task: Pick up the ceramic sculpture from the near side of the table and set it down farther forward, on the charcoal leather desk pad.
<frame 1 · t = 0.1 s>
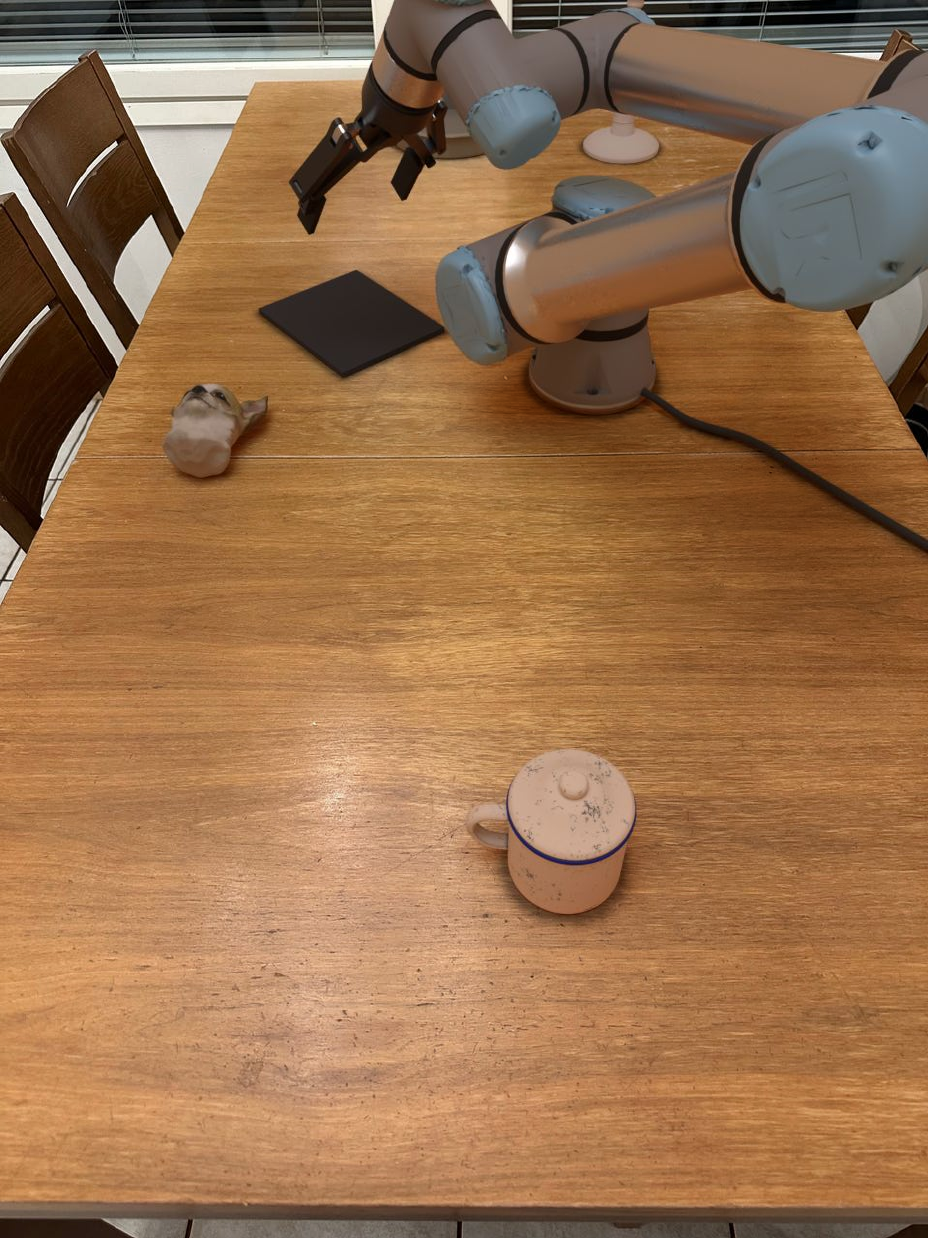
hand: (353, 207, 114), 15 cm above the table, tool tilted 35°, fingers open, 13 cm apart
cake pan: (450, 135, 167), on the table
desk pad: (350, 322, 125), on the table
candlestick: (620, 148, 161), on the table
ceramic sculpture: (215, 449, 108), on the table
teacup with lid: (544, 862, 73), on the table
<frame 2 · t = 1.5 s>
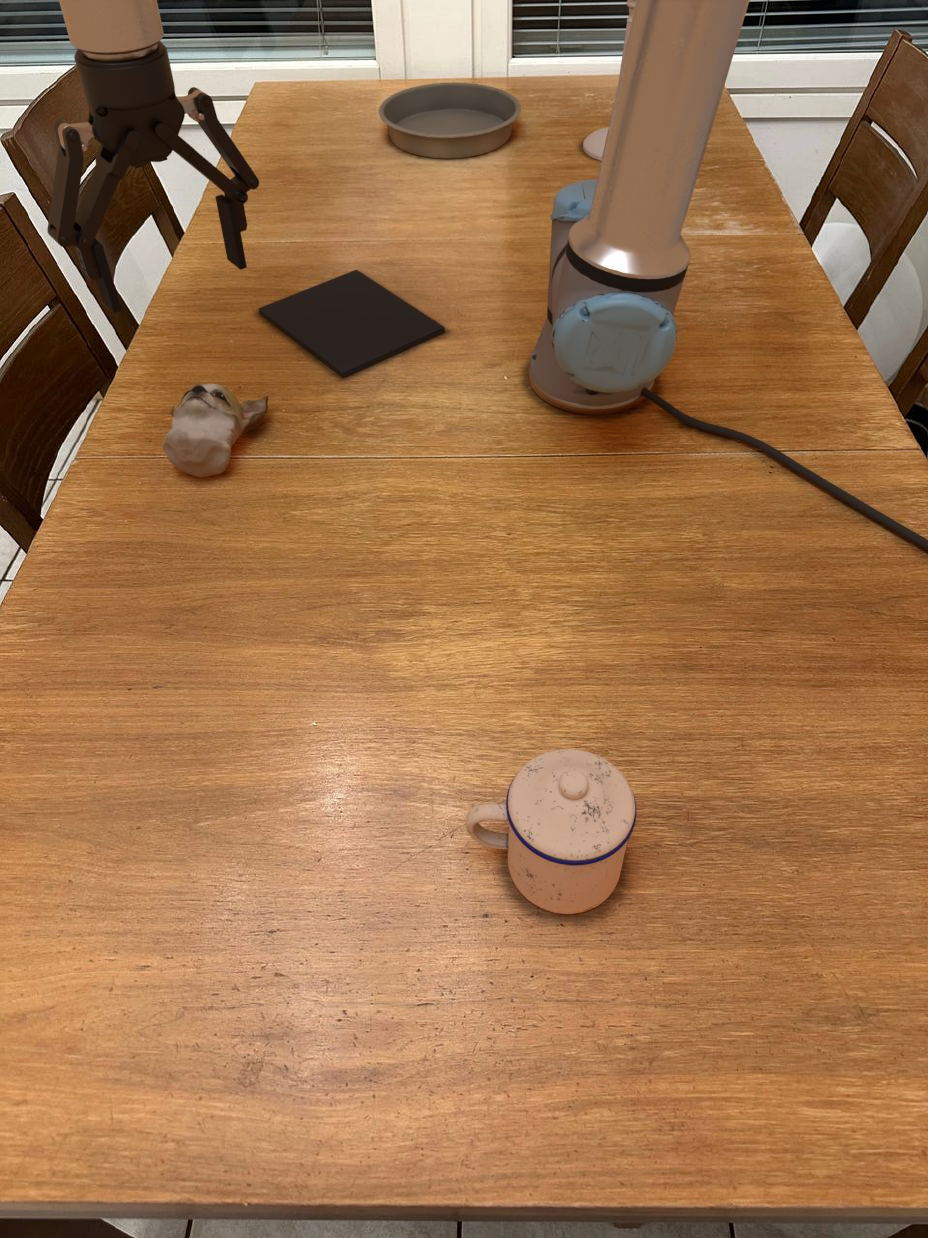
hand: (176, 284, 94), 19 cm above the table, tool pointing down, fingers open, 13 cm apart
nothing on the table moved.
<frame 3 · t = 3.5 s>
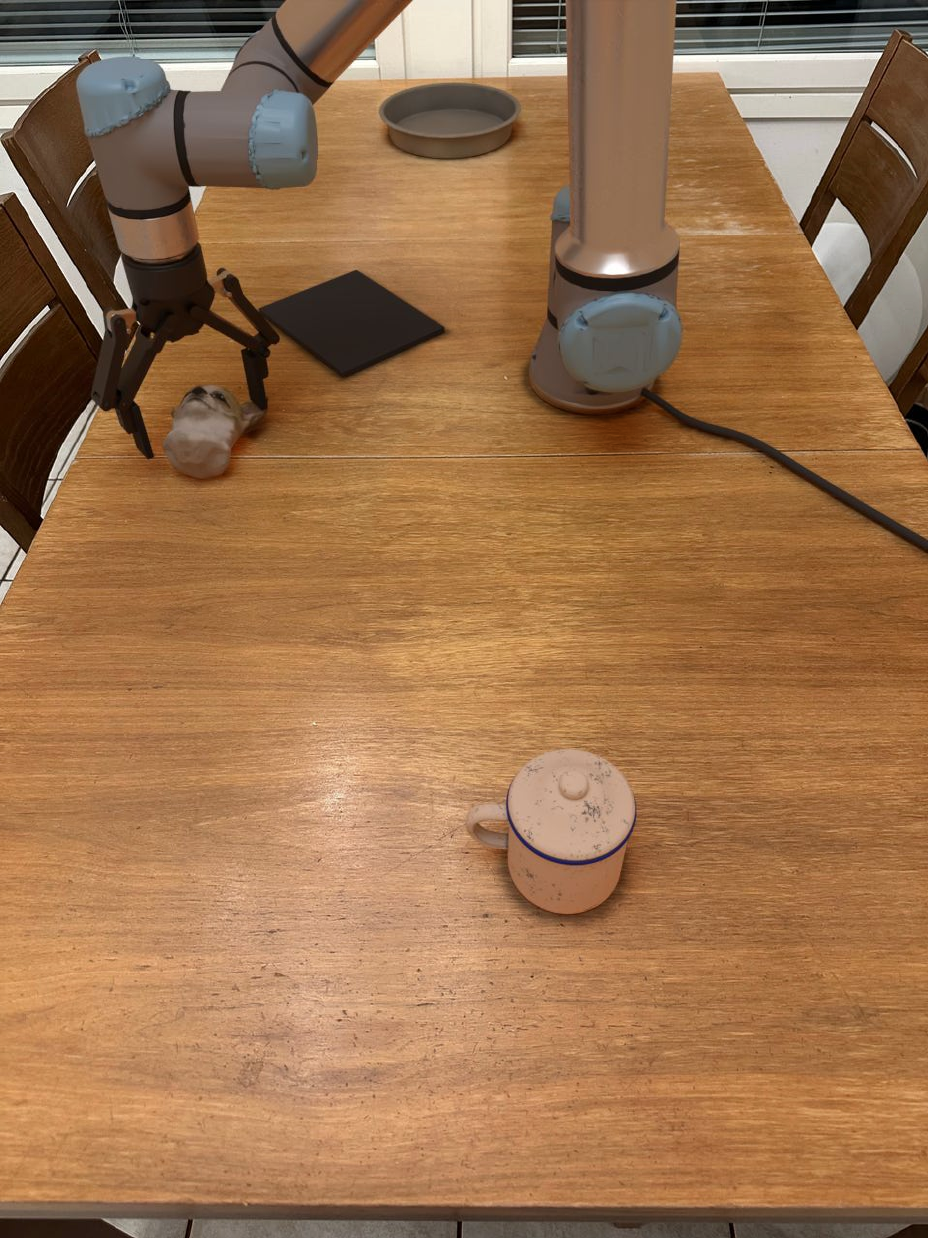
hand: (204, 429, 105), 3 cm above the table, tool pointing down, fingers open, 13 cm apart
ceramic sculpture: (215, 450, 108), on the table, touching gripper
everything else where it was.
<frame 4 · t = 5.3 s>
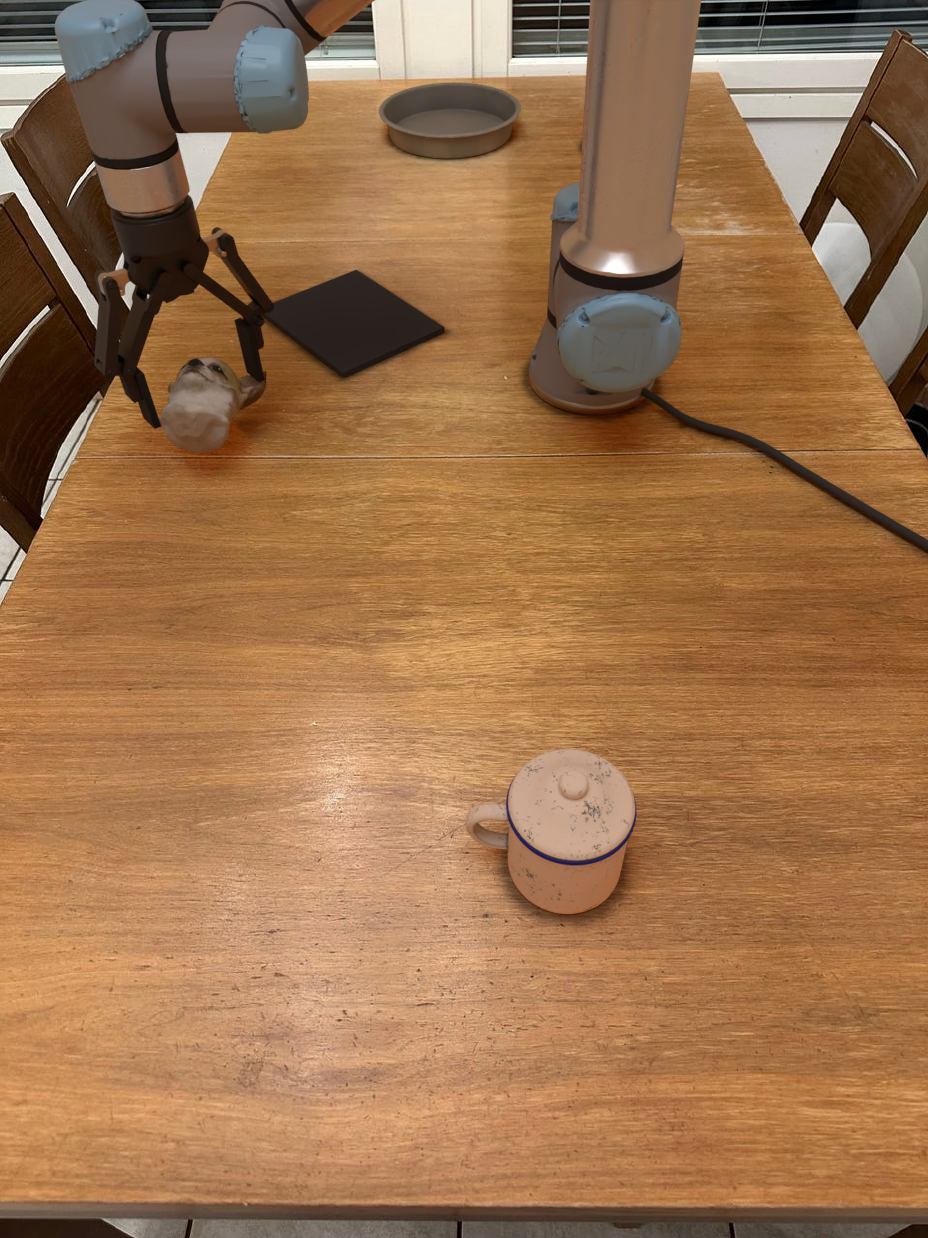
hand: (205, 398, 103), 7 cm above the table, tool pointing down, fingers closed on ceramic sculpture, 12 cm apart
ceramic sculpture: (214, 426, 105), point 3 cm above the table, touching gripper
everything else where it was.
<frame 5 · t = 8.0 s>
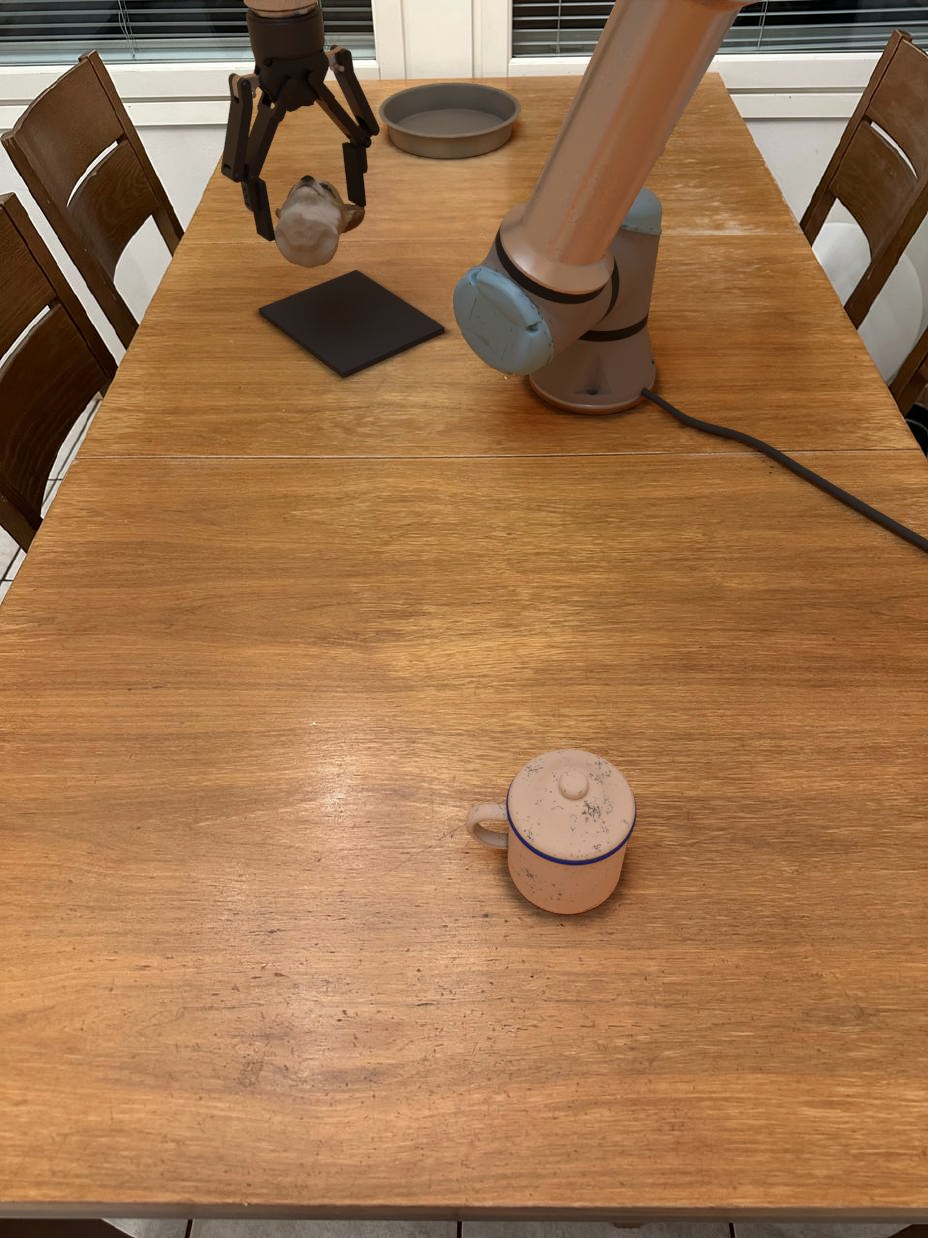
hand: (312, 219, 110), 16 cm above the table, tool pointing down, fingers closed on ceramic sculpture, 12 cm apart
ceramic sculpture: (318, 248, 112), point 13 cm above the table, touching gripper
everything else where it was.
when the fingers open (4 cm above the table, at t = 11.0 s): ceramic sculpture stays where it is, resting on desk pad.
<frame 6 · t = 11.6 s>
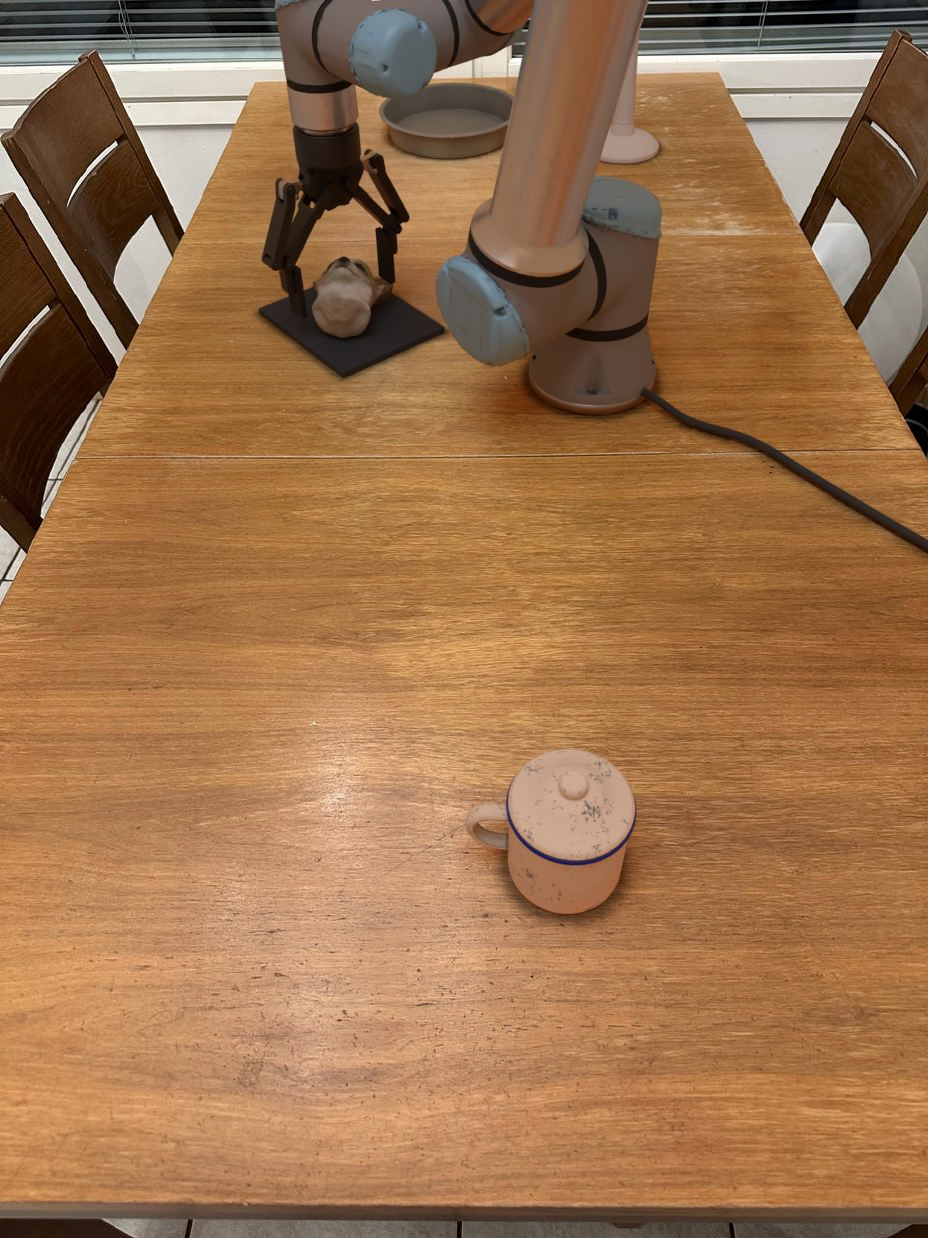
hand: (344, 296, 122), 4 cm above the table, tool pointing down, fingers open, 13 cm apart
ceramic sculpture: (350, 318, 125), point 1 cm above the table, touching desk pad, gripper
everything else where it was.
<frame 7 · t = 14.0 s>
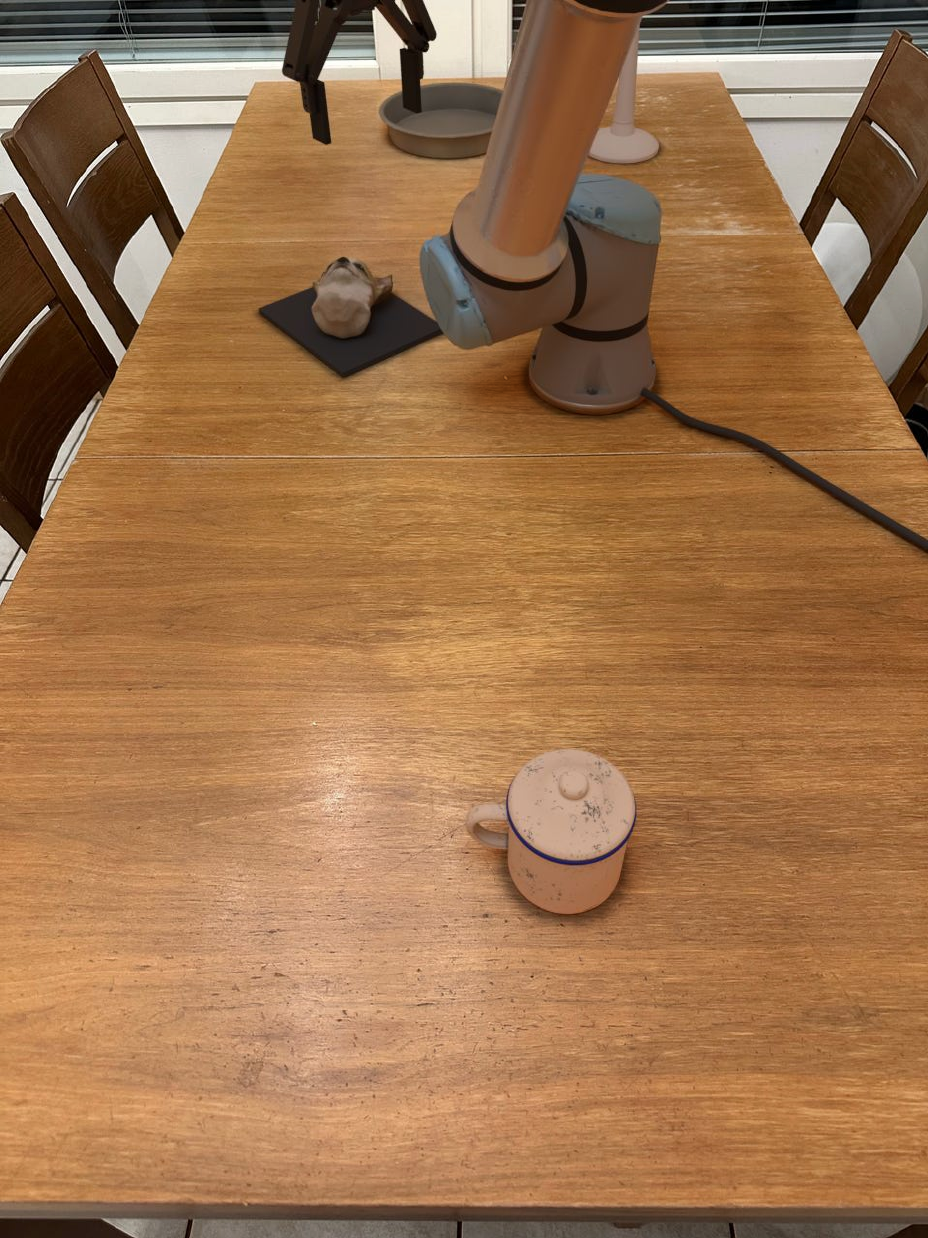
hand: (368, 125, 114), 22 cm above the table, tool pointing down, fingers open, 13 cm apart
ceramic sculpture: (350, 318, 125), point 1 cm above the table, touching desk pad
everything else where it was.
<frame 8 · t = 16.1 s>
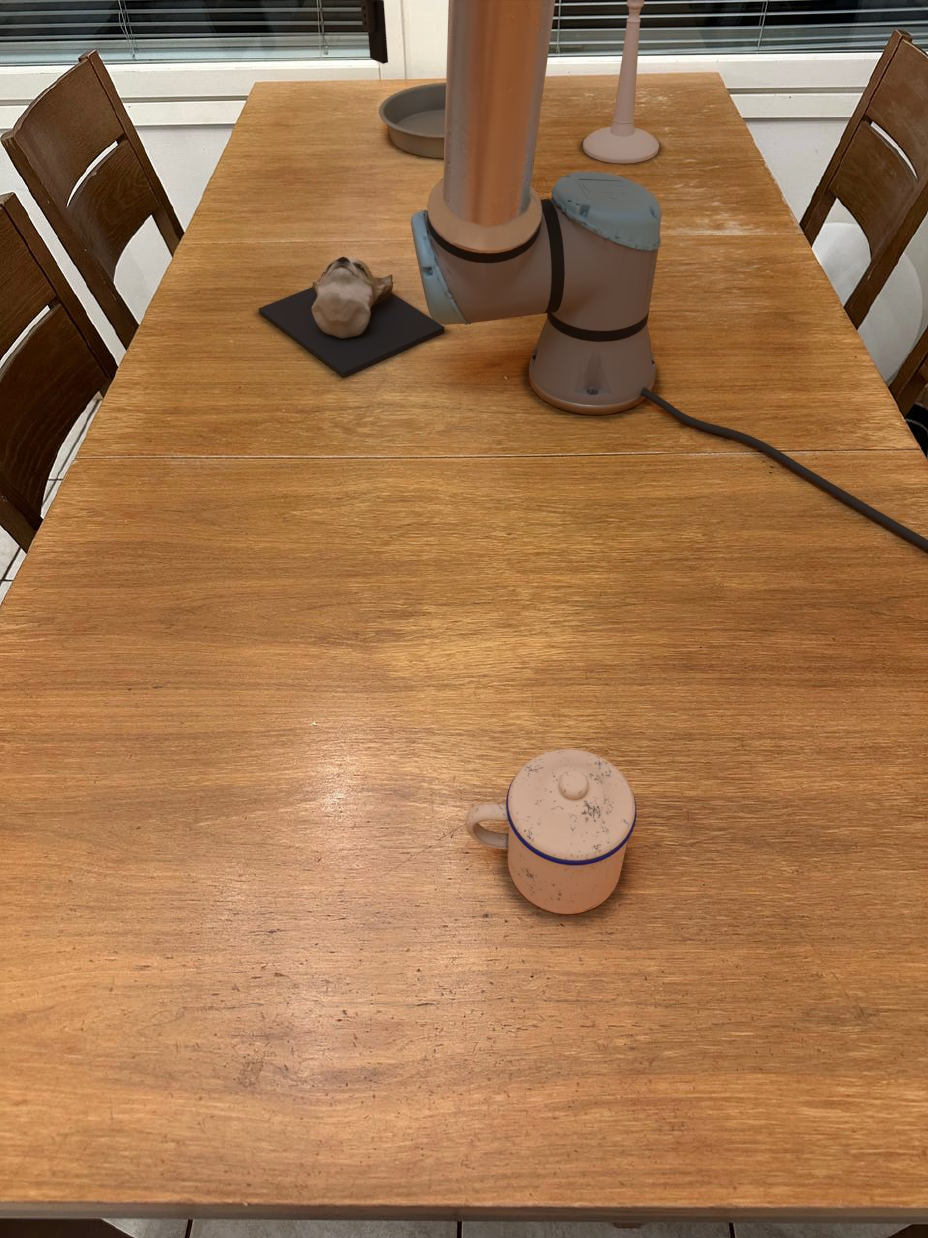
hand: (423, 47, 118), 27 cm above the table, tool pointing down, fingers open, 13 cm apart
nothing on the table moved.
at the end: ceramic sculpture inside the target area on the desk pad (0.0 cm from its centre), point 0.6 cm above the desk pad's base; ceramic sculpture moved 29.6 cm from its start; ceramic sculpture tilted 1° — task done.
